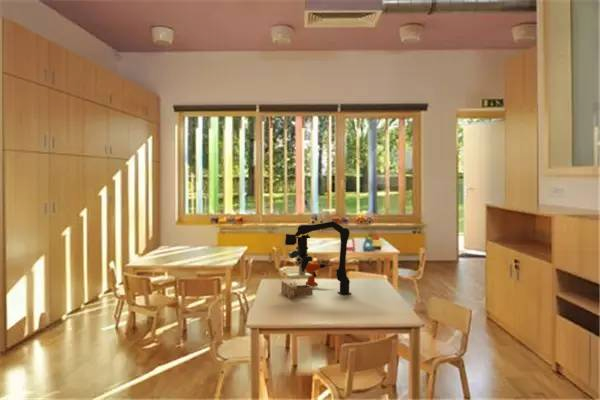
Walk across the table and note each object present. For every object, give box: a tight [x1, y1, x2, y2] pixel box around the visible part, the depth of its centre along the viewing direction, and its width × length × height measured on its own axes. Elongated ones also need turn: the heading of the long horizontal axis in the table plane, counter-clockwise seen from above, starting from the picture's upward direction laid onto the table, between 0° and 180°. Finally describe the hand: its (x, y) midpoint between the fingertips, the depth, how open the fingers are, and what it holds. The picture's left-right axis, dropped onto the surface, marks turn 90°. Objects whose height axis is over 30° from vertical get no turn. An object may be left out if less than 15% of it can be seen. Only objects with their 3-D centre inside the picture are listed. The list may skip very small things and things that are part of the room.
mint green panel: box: [285, 264, 312, 279], centre depth 299 cm, size 8×14×8 cm, turn 109°
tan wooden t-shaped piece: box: [281, 280, 314, 300], centre depth 295 cm, size 18×16×7 cm
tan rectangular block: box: [289, 281, 298, 289], centre depth 289 cm, size 4×3×3 cm
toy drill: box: [305, 262, 333, 287], centre depth 324 cm, size 5×19×15 cm, turn 86°
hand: (302, 271), depth 300 cm, fingers closed on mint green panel, 3 cm apart
